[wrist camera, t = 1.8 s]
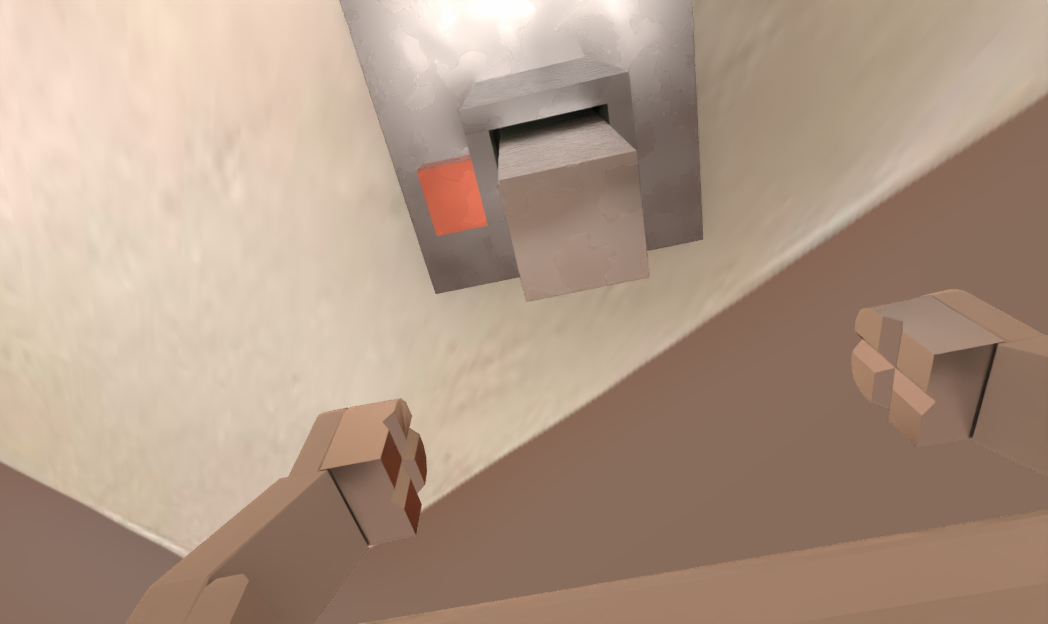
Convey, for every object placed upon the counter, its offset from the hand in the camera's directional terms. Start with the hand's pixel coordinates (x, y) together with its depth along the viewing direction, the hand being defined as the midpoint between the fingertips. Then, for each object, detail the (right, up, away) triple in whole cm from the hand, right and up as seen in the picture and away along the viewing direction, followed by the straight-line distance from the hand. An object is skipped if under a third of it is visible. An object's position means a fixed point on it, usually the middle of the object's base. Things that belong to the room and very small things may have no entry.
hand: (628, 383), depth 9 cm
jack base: (-1, +14, +26) cm, 29 cm away
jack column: (-1, +12, +23) cm, 26 cm away
